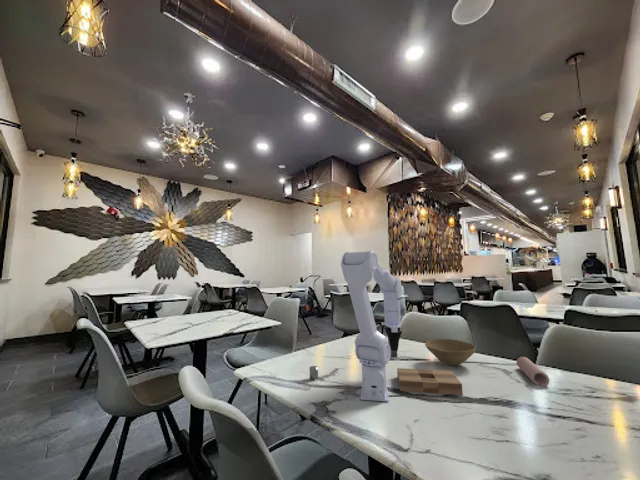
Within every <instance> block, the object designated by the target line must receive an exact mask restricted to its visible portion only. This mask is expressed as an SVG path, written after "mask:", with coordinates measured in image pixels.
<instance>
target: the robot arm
mask: <svg viewBox="0 0 640 480" xmlns="http://www.w3.org/2000/svg"><path fill="white" fill-rule="evenodd" d="M340 268H341V271H342V274H343V279H344V281H345V282H346V284H347V289H348V291H349V296H350V299H351V303H352V307H353V311H354V315H355V319H356V322H357V326H358V330H359V334H357V336H356V338H355V340H354V345H355V348H354V349H355V350H354V351H355V355H356V358H357V359H358V360H359V364H361V378H362V379H361V381H362V386H361V391H360V400H361V401H374V402H389V391H388V387H387V375H386V365H387V364H388V363H389V362H390V361H391V358H392V357H391V350H392V351H397V352H398V350H399V346H400V345H399V344H400V339H401V336H402V333H403V330H401V327H402V322H401V321H402V320H401V318H402V317H401V300H400V299H401V297H402V294H401V293H402V290H403V289H402V287H403V285H402V281H401V279H399V278H398V277H394V276H393V274H391V272H390V271H389V270H388V269H387V268H386V267H381V266H380V264H379V259H378V255H377V254H376V252H375V251H374V250H367V251H366V250H365V251H353V252H347V251H346V252H344V253H343V255H342V257H341V261H340ZM371 281H374V282H375V283H376V284H378V285H379V288H380V291H381V293H383V295H382V296H383V313H384V322H383V321H382V322H381V326H386V327H384V330H385V333H386V335H387V337H386V336H385V335H384V334H382V333H381V332H380V331H378V329H377V324H376V321H375V318H374V312H373V309H372V308H373V307H372V305H371V301H370V296H369V292H368V288H367V284H369V283H370V282H371ZM388 338H389V342H390V346H389V344H388ZM390 347H391V349H390Z"/></svg>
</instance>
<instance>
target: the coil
mask: <svg viewBox="0 0 640 480" xmlns="http://www.w3.org/2000/svg"><path fill="white" fill-rule="evenodd" d="M516 365H517V367H518V368H519V369H520V370H521V371H522V372H523V373H524V374H525V375H526V376H527V377H528V379H529V380H531V381H532V383H534V385H536V386H540V387H547V386H548V385H549V384H550V378H549V376H548V374H546V373H545V372H544V371H543V370H542V369H541V368H540V367H539V366H537V365H536V364H535V363H534V362H533V361H531V359H529V358H528V357H525V356H520V357H518V358H517V359H516Z"/></svg>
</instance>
